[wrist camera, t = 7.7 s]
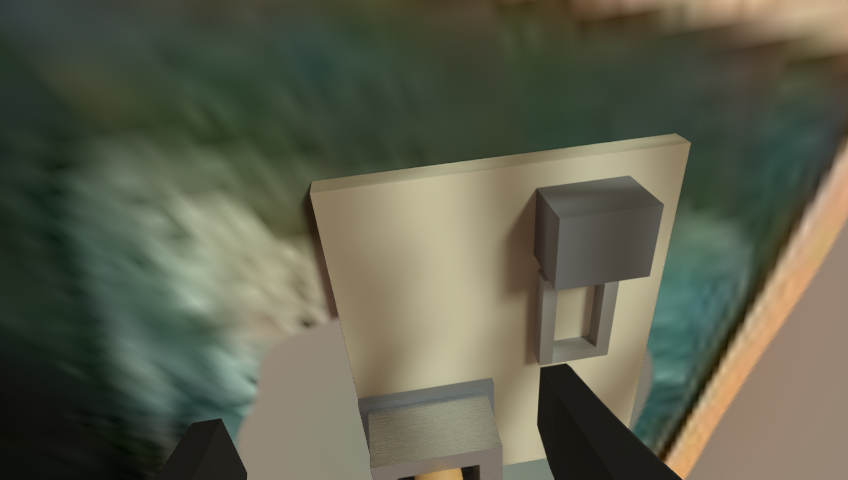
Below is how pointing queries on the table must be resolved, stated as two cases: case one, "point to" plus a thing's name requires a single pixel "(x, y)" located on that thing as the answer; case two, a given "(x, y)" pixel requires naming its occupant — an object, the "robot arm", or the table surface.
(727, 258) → the table surface
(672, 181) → the board
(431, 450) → the square metal tube
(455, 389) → the square tray with peg
